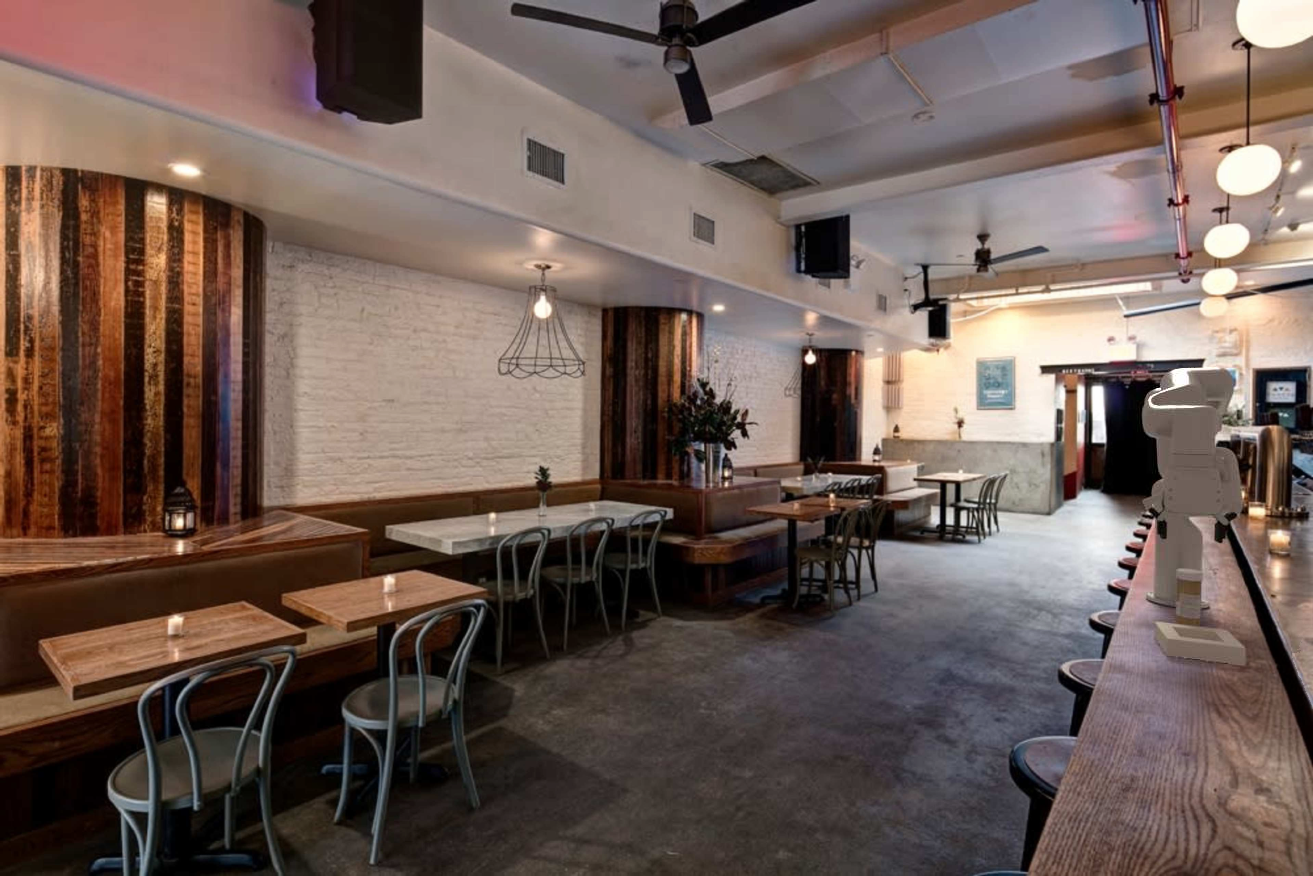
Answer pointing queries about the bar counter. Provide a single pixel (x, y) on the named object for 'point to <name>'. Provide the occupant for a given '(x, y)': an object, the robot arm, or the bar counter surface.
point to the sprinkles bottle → (1188, 597)
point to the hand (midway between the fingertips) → (1190, 540)
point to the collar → (1199, 643)
